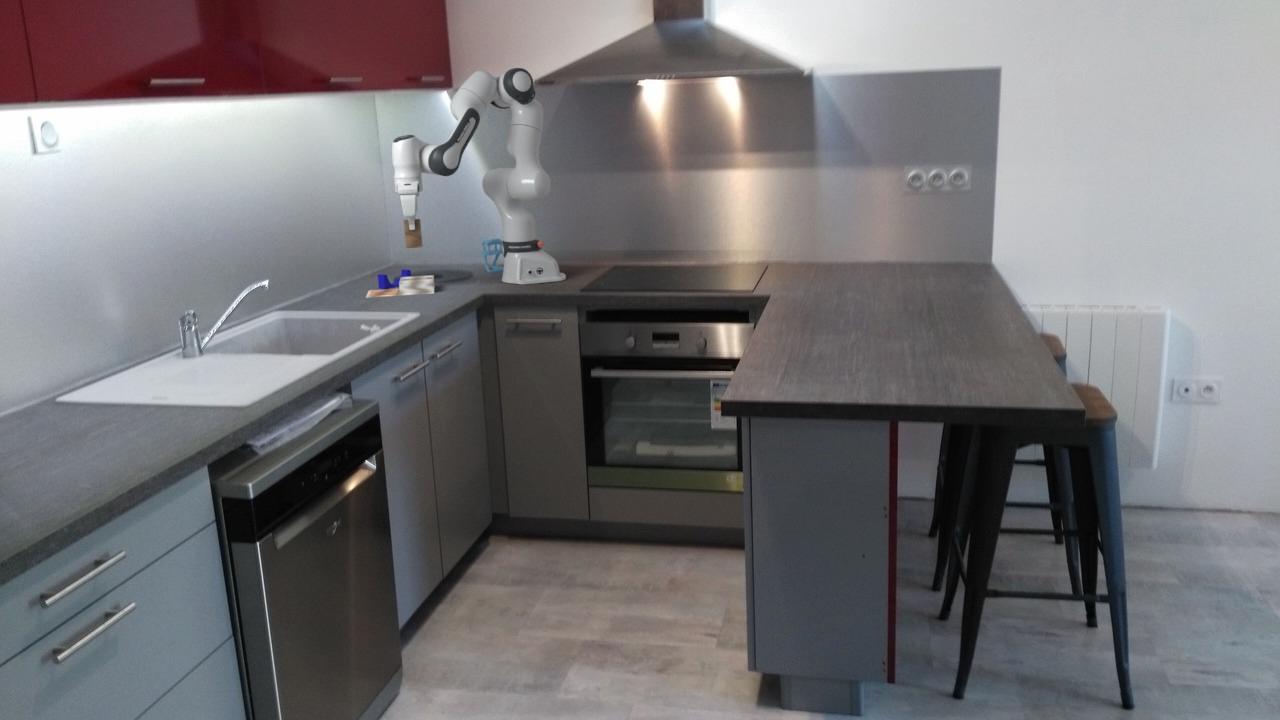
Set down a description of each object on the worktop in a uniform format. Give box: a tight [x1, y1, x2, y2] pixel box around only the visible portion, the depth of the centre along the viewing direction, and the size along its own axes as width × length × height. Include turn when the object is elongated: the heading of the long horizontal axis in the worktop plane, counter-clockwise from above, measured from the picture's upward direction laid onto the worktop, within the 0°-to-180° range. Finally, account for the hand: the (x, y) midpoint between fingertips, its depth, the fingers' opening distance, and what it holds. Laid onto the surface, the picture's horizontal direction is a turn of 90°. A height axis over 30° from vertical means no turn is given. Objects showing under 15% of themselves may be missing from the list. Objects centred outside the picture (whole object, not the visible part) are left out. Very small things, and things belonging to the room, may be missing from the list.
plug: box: [403, 218, 423, 249], centre depth 351 cm, size 5×3×9 cm, turn 99°
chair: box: [480, 238, 504, 273], centre depth 396 cm, size 8×8×12 cm
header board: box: [365, 274, 436, 299], centre depth 354 cm, size 22×13×5 cm, turn 99°
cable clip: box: [377, 268, 412, 290], centre depth 366 cm, size 12×4×6 cm, turn 143°
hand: (412, 228), depth 350 cm, fingers closed on plug, 3 cm apart
